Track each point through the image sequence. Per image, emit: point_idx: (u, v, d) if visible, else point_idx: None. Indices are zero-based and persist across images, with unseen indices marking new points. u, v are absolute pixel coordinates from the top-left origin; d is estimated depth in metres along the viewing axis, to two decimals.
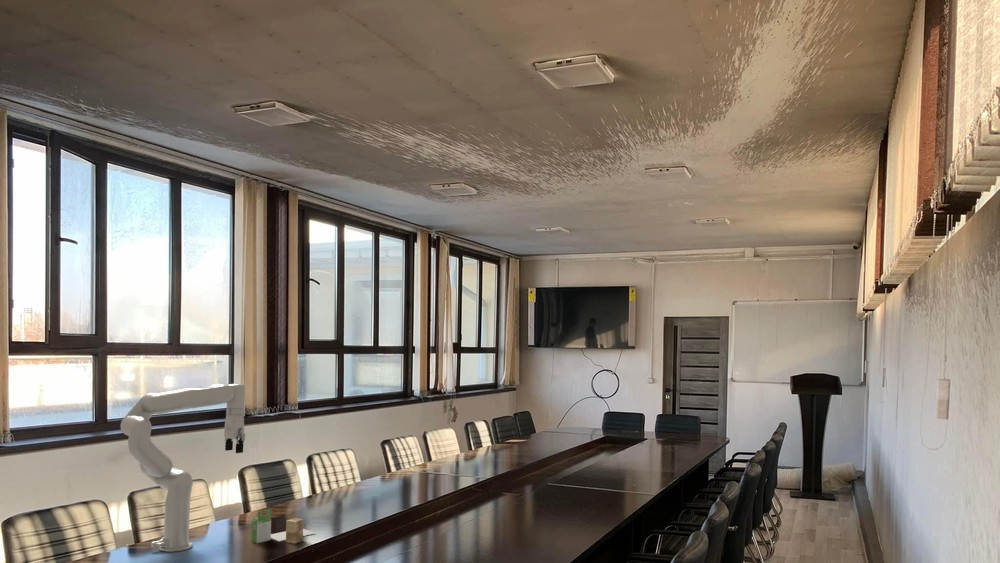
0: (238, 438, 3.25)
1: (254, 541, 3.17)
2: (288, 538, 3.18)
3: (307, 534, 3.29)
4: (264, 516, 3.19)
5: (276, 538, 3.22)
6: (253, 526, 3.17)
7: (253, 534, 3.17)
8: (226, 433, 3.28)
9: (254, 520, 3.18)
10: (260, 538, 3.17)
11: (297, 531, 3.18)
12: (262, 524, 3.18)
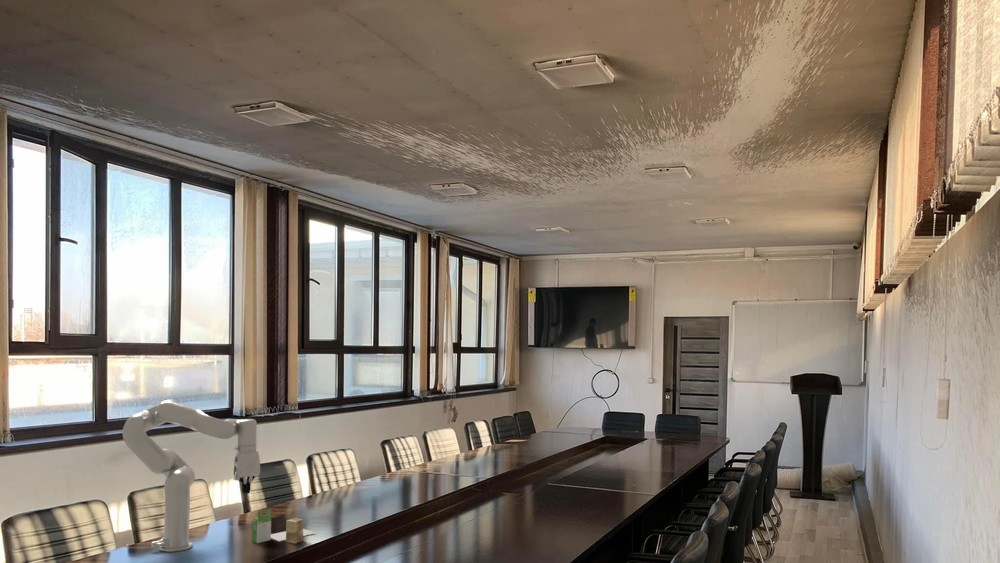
0: None
1: (254, 541, 3.17)
2: (288, 538, 3.18)
3: (307, 534, 3.29)
4: (264, 516, 3.19)
5: (276, 538, 3.22)
6: (253, 526, 3.17)
7: (253, 534, 3.17)
8: (245, 472, 3.13)
9: (254, 520, 3.18)
10: (260, 538, 3.17)
11: (297, 531, 3.18)
12: (262, 524, 3.18)
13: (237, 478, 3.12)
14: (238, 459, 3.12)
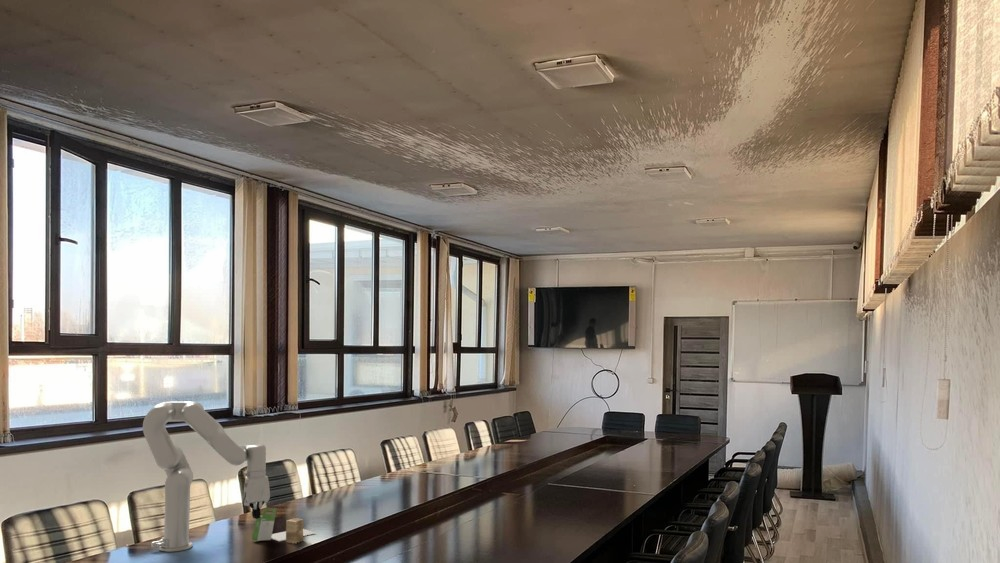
0: None
1: (255, 538, 3.17)
2: (288, 538, 3.18)
3: (307, 534, 3.29)
4: (269, 514, 3.20)
5: (276, 538, 3.22)
6: (257, 523, 3.18)
7: (255, 531, 3.18)
8: (255, 497, 3.15)
9: None
10: (261, 536, 3.17)
11: (297, 531, 3.18)
12: (266, 522, 3.19)
13: (247, 504, 3.15)
14: (248, 485, 3.14)
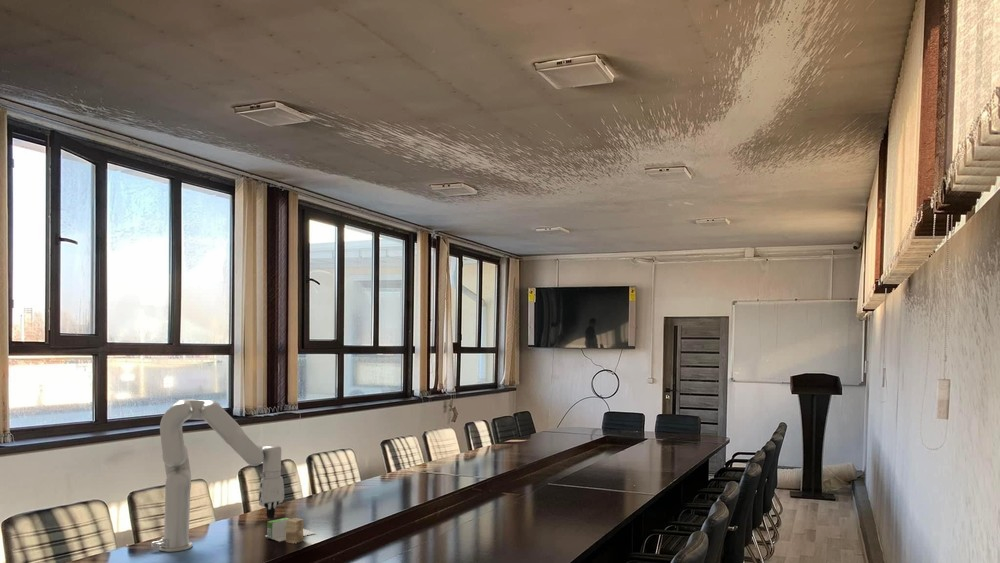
0: (274, 502, 3.24)
1: (271, 522, 3.23)
2: (288, 538, 3.18)
3: (307, 534, 3.29)
4: None
5: (276, 538, 3.22)
6: (282, 519, 3.28)
7: (275, 520, 3.25)
8: (270, 498, 3.20)
9: (287, 518, 3.30)
10: (276, 526, 3.23)
11: (297, 531, 3.18)
12: None
13: (262, 503, 3.20)
14: (263, 485, 3.19)
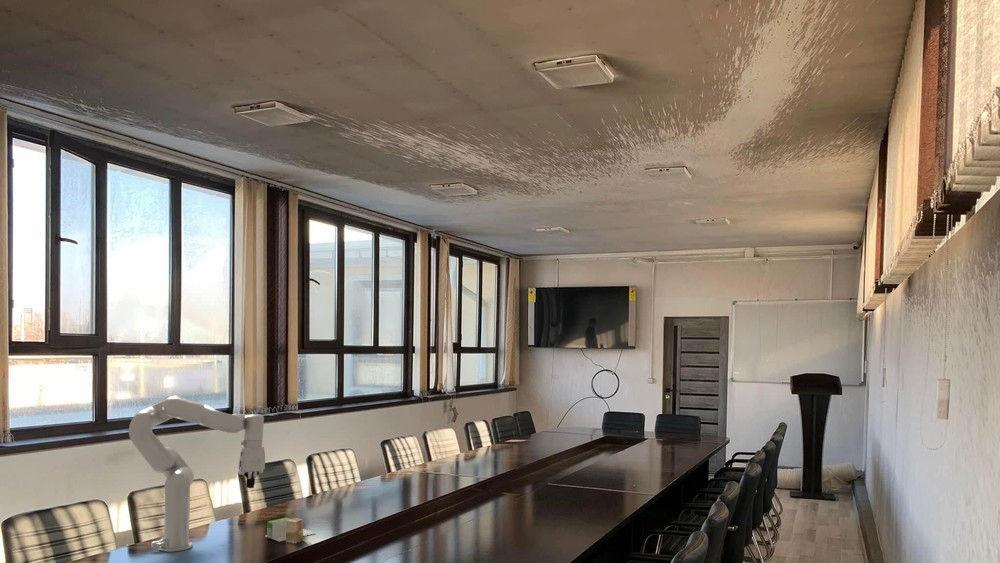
0: None
1: (271, 522, 3.23)
2: (288, 538, 3.18)
3: (307, 534, 3.29)
4: None
5: (276, 538, 3.22)
6: (282, 519, 3.28)
7: (275, 520, 3.25)
8: (250, 467, 3.15)
9: (287, 518, 3.30)
10: (276, 526, 3.23)
11: (297, 531, 3.18)
12: None
13: (242, 472, 3.14)
14: (244, 454, 3.14)
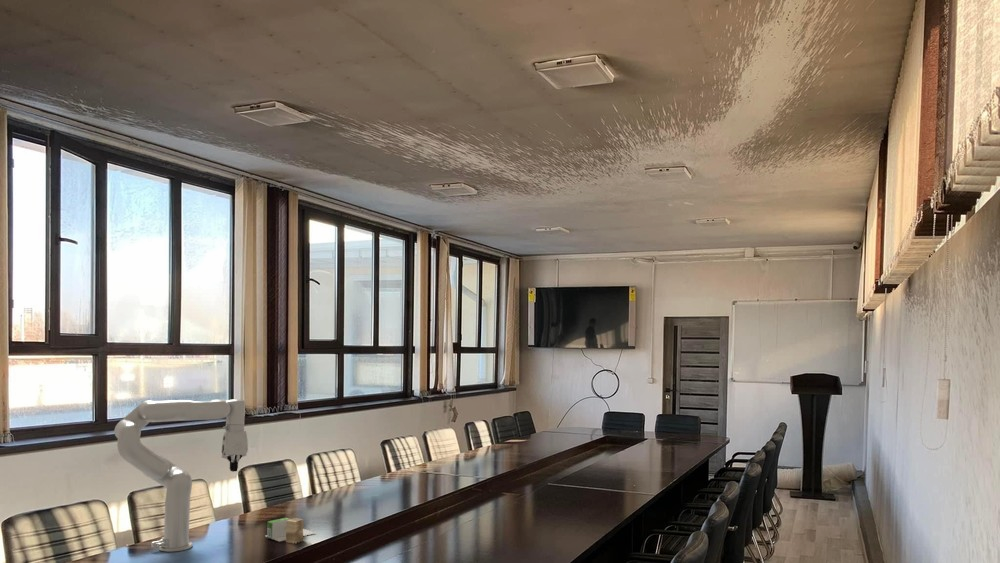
0: None
1: (271, 522, 3.23)
2: (288, 538, 3.18)
3: (307, 534, 3.29)
4: None
5: (276, 538, 3.22)
6: (282, 519, 3.28)
7: (275, 520, 3.25)
8: (233, 450, 3.21)
9: (287, 518, 3.30)
10: (276, 526, 3.23)
11: (297, 531, 3.18)
12: None
13: (225, 456, 3.20)
14: (226, 438, 3.20)
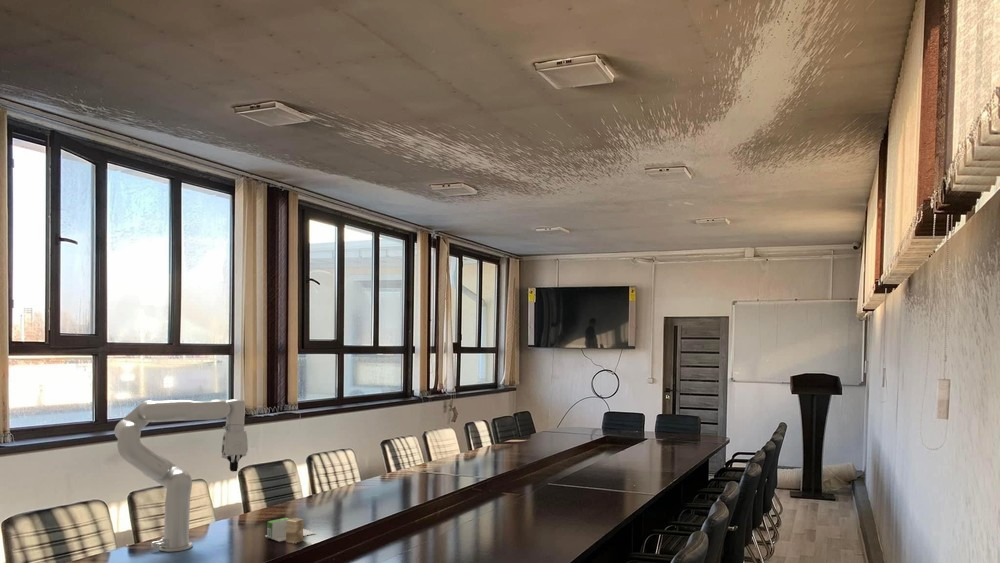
0: None
1: (271, 522, 3.23)
2: (288, 538, 3.18)
3: (307, 534, 3.29)
4: None
5: (276, 538, 3.22)
6: (282, 519, 3.28)
7: (275, 520, 3.25)
8: (232, 450, 3.21)
9: (287, 518, 3.30)
10: (276, 526, 3.23)
11: (297, 531, 3.18)
12: None
13: (225, 456, 3.20)
14: (226, 438, 3.20)
